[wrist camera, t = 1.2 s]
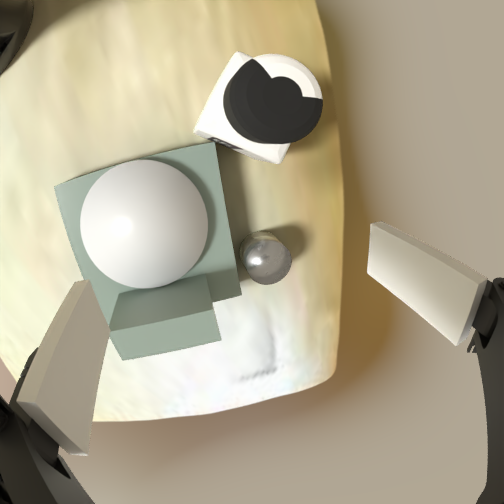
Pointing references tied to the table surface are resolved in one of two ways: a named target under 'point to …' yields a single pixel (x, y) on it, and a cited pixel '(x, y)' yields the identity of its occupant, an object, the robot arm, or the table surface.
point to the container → (261, 106)
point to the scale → (154, 248)
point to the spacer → (265, 257)
